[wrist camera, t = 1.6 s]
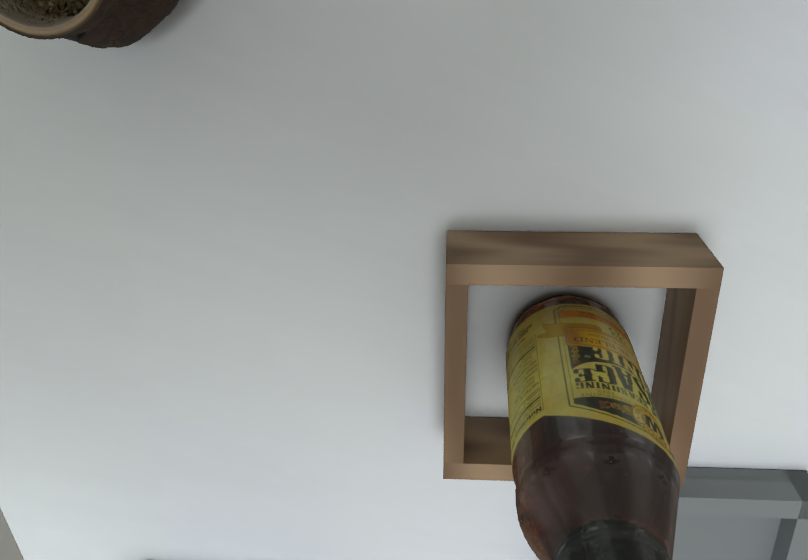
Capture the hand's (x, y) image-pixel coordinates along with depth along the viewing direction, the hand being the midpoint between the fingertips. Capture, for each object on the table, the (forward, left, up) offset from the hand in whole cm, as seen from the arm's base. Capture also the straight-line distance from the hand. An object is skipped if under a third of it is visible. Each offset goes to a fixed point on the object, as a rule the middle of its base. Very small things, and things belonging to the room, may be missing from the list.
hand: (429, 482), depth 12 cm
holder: (+6, -12, -25) cm, 28 cm away
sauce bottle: (+6, -12, -25) cm, 28 cm away
